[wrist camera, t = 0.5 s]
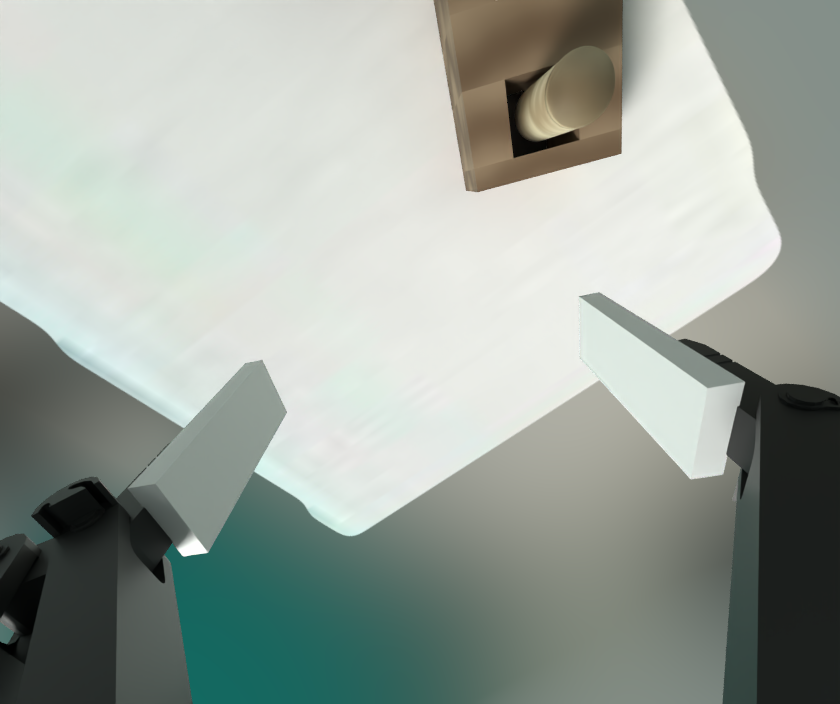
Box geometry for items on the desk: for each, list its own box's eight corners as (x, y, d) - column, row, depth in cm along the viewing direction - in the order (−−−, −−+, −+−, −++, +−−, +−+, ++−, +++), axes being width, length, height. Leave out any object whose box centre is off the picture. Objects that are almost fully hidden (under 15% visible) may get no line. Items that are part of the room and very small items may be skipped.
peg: (511, 90, 27) (544, 57, 20) (563, 75, 27) (615, 36, 20) (517, 147, 29) (550, 136, 22) (566, 134, 29) (615, 117, 22)
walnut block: (424, -54, 29) (426, -133, 22) (570, -105, 28) (623, -206, 20) (466, 190, 37) (477, 192, 30) (580, 159, 36) (621, 153, 28)
